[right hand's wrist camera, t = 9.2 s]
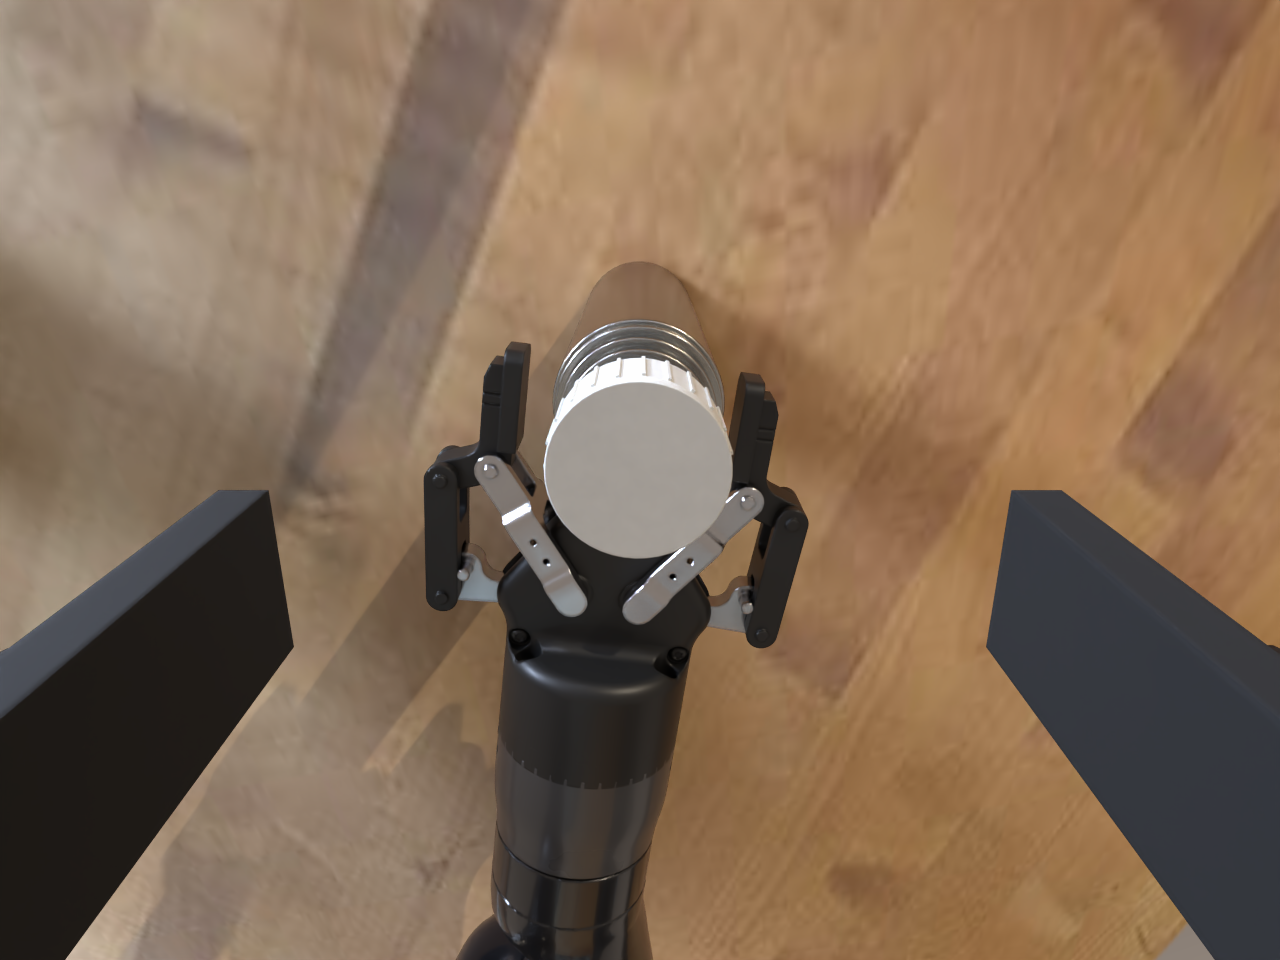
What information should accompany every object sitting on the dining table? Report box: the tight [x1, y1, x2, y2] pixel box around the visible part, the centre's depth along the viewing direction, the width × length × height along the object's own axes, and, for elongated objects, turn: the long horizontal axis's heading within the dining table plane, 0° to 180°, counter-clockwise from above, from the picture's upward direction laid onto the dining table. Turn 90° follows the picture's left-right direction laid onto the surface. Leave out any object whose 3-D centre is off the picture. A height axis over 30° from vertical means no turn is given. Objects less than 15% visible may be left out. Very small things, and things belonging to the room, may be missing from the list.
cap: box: [543, 356, 733, 559], centre depth 18 cm, size 4×4×2 cm
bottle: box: [553, 262, 725, 418], centre depth 27 cm, size 5×5×20 cm
